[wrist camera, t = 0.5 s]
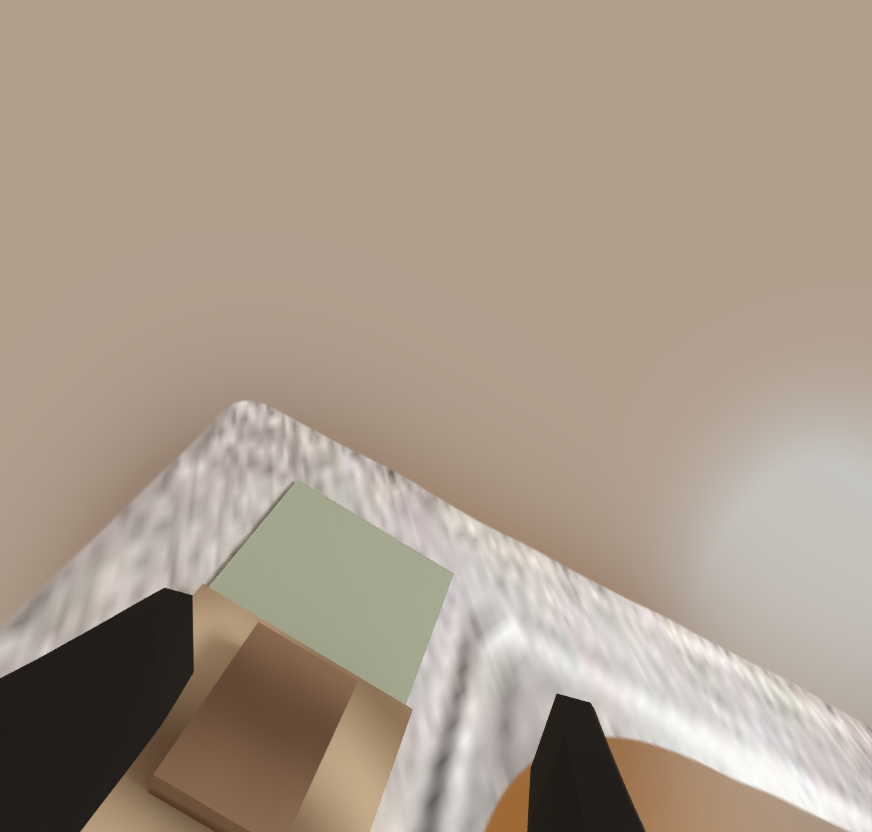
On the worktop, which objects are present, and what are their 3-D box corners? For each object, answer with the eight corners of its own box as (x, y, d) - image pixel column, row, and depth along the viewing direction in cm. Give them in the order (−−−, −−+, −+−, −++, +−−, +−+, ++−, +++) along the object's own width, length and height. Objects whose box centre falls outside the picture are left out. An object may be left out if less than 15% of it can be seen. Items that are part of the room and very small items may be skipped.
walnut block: (263, 860, 19) (280, 849, 17) (148, 792, 19) (153, 774, 17) (337, 702, 24) (357, 681, 22) (245, 648, 24) (258, 621, 22)
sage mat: (400, 714, 26) (402, 712, 26) (202, 596, 26) (202, 593, 26) (451, 576, 34) (453, 573, 33) (296, 482, 33) (297, 479, 33)
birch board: (223, 1192, 15) (234, 1214, 14) (-125, 991, 15) (-146, 995, 14) (397, 720, 26) (412, 709, 25) (198, 601, 26) (202, 583, 25)
